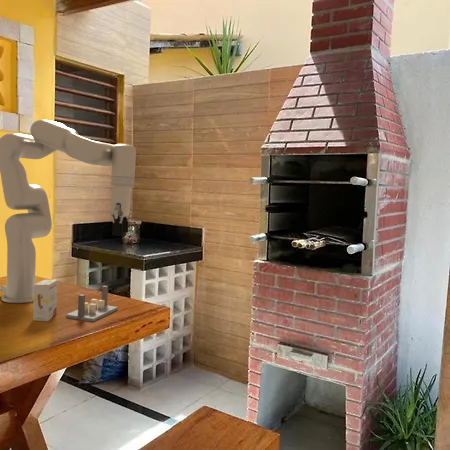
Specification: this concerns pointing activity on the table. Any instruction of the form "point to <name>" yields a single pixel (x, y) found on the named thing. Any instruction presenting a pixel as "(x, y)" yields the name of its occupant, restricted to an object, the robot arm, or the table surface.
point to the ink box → (45, 300)
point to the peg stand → (92, 308)
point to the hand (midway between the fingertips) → (120, 233)
